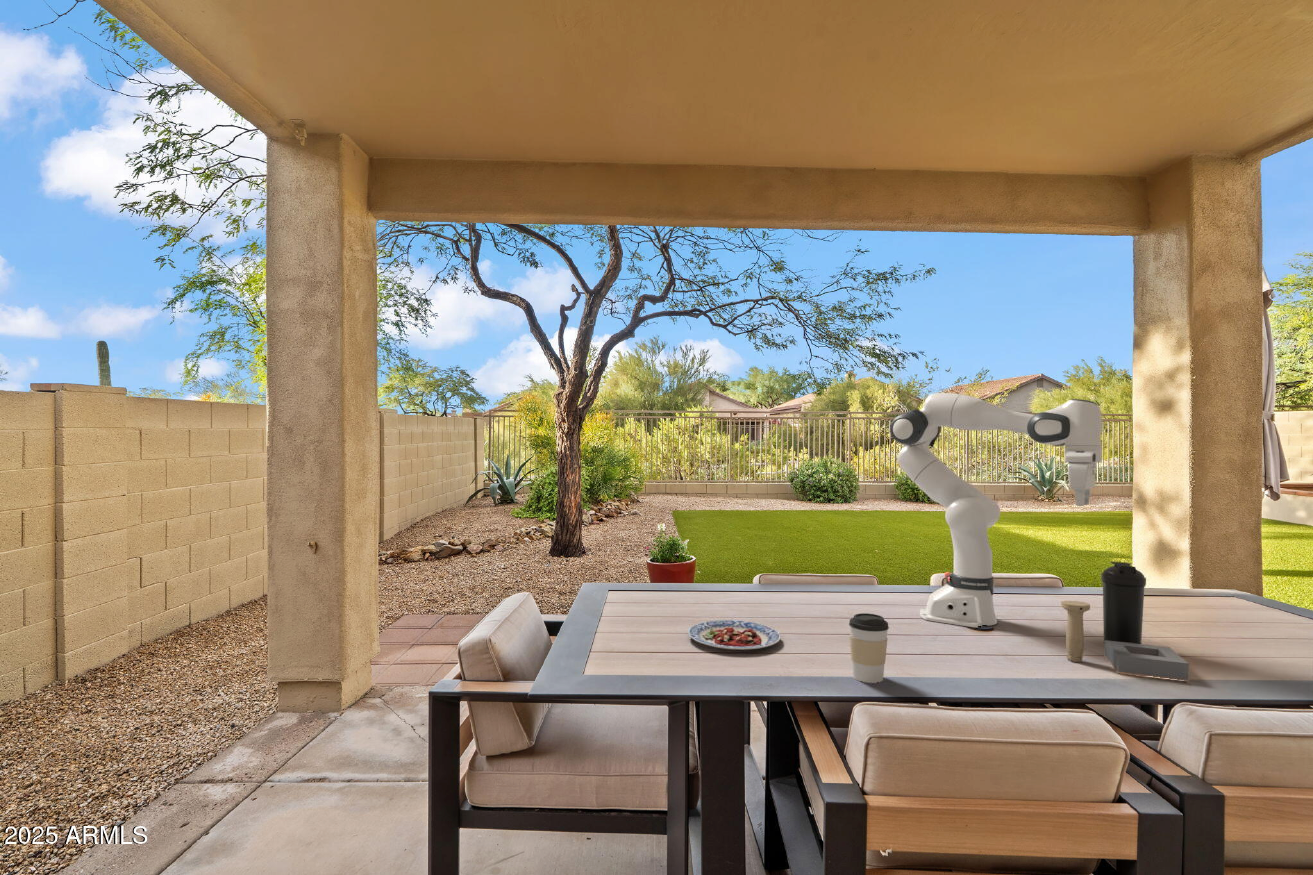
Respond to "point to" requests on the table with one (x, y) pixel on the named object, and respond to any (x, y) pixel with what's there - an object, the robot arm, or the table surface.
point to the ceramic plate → (734, 634)
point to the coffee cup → (868, 647)
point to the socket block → (1145, 660)
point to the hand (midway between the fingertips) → (1082, 505)
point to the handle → (1075, 629)
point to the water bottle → (1123, 603)
